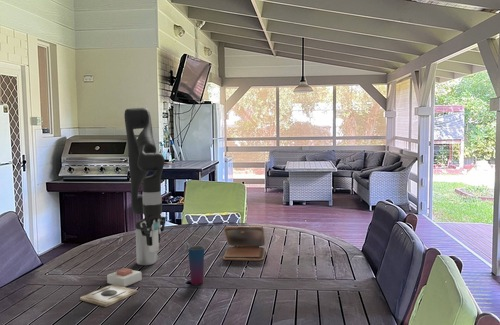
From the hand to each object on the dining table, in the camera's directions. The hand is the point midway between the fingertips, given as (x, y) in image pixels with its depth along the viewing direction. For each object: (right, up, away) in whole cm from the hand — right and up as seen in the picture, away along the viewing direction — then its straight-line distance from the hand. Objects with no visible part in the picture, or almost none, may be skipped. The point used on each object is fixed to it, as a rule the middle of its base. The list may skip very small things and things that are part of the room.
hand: (153, 243), depth 186 cm
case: (+36, -14, +47) cm, 61 cm away
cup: (+17, -18, +8) cm, 26 cm away
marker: (0, -3, 0) cm, 3 cm away
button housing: (-15, -18, +10) cm, 25 cm away
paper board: (-16, -19, -6) cm, 26 cm away
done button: (-15, -16, +10) cm, 24 cm away
